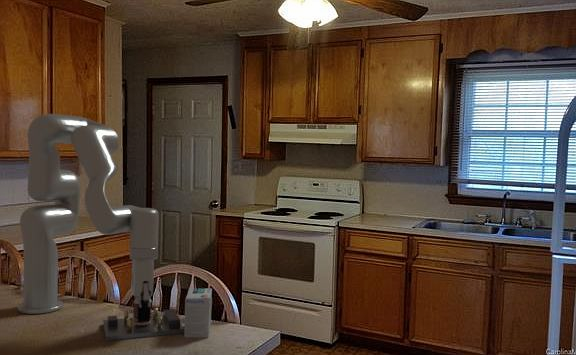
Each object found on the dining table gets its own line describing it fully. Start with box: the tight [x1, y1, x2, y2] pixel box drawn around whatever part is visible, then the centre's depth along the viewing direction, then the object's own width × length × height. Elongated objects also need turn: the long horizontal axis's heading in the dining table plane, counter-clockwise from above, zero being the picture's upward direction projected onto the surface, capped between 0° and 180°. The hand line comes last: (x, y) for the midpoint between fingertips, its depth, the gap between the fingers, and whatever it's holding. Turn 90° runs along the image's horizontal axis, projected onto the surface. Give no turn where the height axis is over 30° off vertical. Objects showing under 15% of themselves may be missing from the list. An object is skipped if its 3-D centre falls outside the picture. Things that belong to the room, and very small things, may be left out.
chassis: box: [102, 307, 185, 342], centre depth 147 cm, size 14×20×4 cm
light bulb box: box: [183, 287, 213, 339], centre depth 146 cm, size 11×7×11 cm, turn 5°
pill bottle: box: [132, 294, 153, 325], centre depth 147 cm, size 5×5×8 cm
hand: (142, 317), depth 147 cm, fingers closed on pill bottle, 4 cm apart
